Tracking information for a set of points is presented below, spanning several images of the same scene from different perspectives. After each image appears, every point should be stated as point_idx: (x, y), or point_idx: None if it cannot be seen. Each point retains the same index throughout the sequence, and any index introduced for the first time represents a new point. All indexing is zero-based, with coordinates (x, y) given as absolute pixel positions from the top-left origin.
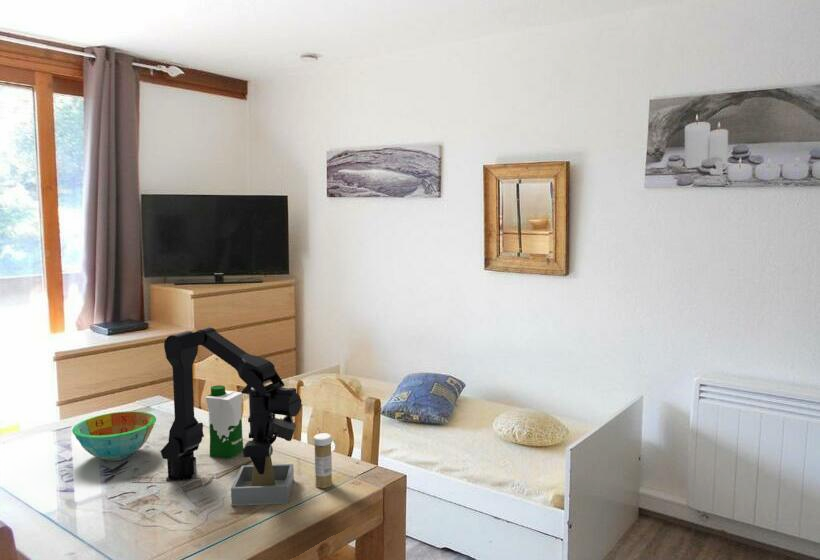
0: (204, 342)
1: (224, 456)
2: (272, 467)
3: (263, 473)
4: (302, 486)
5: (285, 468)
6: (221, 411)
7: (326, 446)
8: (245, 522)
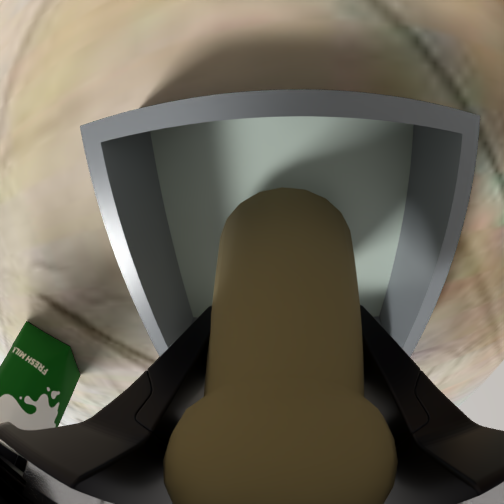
0: None
1: (71, 359)
2: (285, 269)
3: (362, 307)
4: (213, 41)
5: (119, 167)
6: None
7: None
8: (497, 256)
